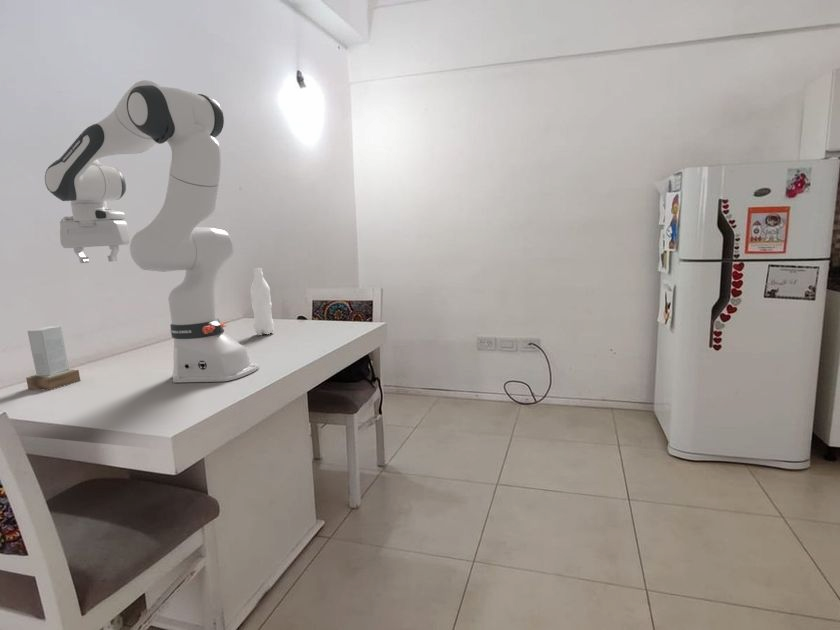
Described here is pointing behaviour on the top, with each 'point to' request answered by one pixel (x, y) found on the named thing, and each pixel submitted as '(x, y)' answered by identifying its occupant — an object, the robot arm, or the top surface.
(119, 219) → the robot arm
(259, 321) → the water bottle
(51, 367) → the skincare box
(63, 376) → the walnut block
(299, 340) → the top surface
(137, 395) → the top surface
